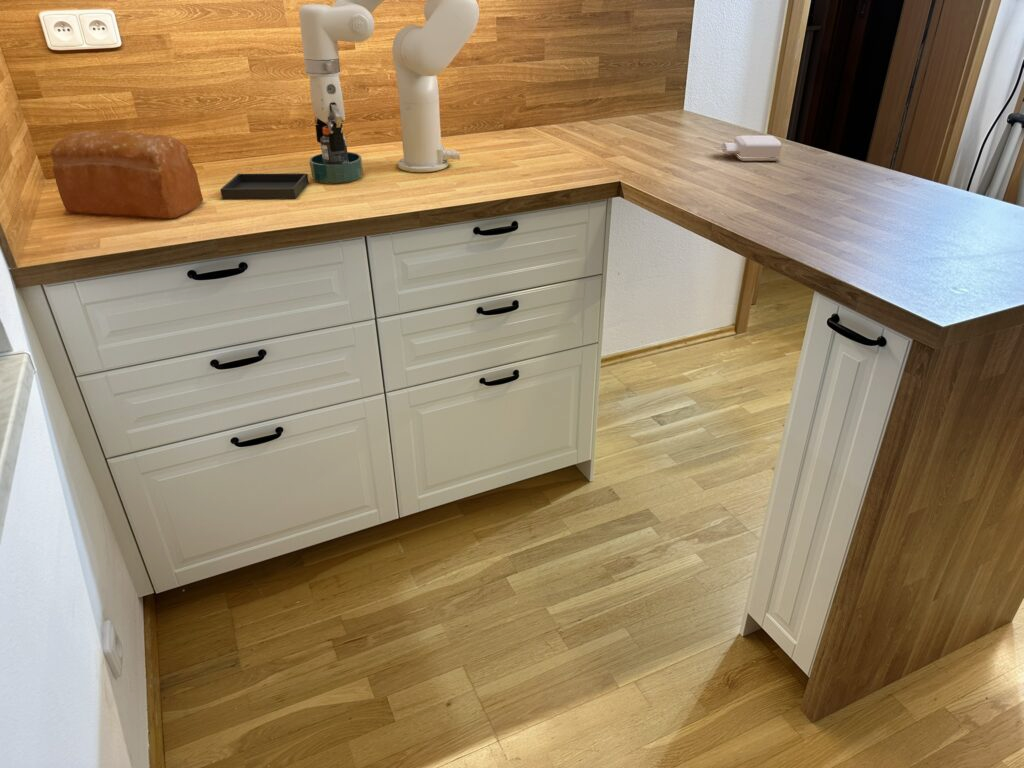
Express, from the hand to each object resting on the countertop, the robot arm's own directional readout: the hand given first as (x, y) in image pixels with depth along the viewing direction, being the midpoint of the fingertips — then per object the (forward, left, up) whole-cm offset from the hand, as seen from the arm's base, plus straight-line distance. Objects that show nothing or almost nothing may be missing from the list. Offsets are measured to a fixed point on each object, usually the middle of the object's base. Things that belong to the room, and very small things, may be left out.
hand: (330, 146), depth 171 cm
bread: (+38, +22, -8) cm, 45 cm away
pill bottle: (-1, 0, -7) cm, 7 cm away
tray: (+13, +10, -7) cm, 18 cm away
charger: (-102, -17, -8) cm, 104 cm away
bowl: (-1, 0, -7) cm, 7 cm away
